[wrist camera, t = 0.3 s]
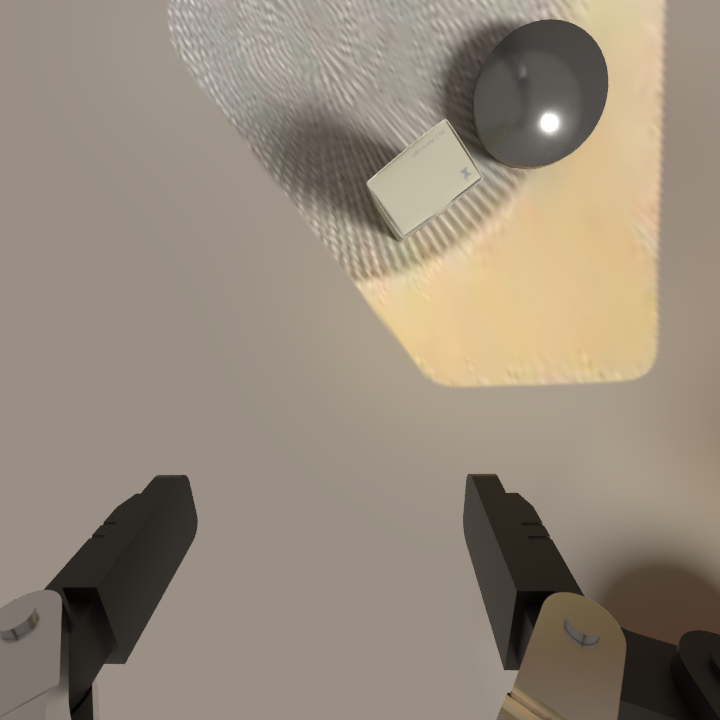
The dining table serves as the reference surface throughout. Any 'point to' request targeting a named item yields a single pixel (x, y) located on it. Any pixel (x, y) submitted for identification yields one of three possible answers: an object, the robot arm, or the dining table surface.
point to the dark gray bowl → (540, 94)
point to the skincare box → (423, 180)
